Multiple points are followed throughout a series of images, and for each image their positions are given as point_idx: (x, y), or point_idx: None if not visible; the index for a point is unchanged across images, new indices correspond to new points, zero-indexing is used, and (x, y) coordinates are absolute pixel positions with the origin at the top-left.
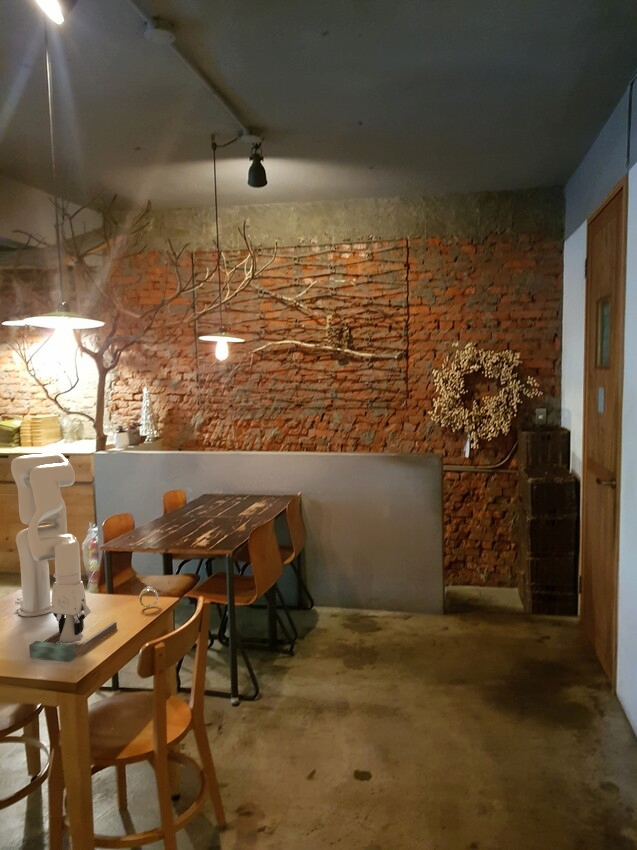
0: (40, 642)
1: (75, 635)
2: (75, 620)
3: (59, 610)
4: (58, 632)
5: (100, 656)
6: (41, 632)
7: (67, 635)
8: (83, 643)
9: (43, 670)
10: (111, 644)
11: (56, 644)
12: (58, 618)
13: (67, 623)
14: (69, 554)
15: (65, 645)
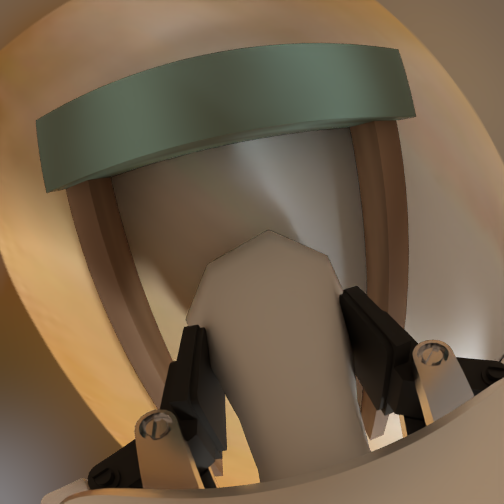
0: (367, 99)
1: (203, 324)
2: (179, 432)
3: (476, 472)
4: (399, 320)
5: (19, 261)
6: (471, 303)
7: (246, 285)
8: (104, 287)
9: (146, 7)
10: (87, 368)
11: (197, 117)
12: (433, 365)
13: (288, 373)
14: None
15: (106, 146)
